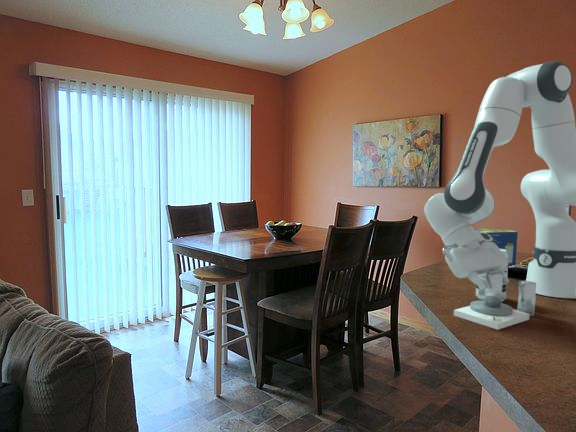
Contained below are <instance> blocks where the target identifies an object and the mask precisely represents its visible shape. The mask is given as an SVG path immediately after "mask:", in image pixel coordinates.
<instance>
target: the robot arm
mask: <svg viewBox="0 0 576 432" xmlns="http://www.w3.org/2000/svg"><path fill="white" fill-rule="evenodd" d="M572 84H573V73H572V70H571V68H570V67H569V66H568V65H567V64H566V63H565V62H563V61H561V60H552V61H546V62H544V63H541V64H536V65H535V64H534V65H531V66H528V67H525V68H523V69H520V70H518V71H515V72H512V73H510V74H506V75H504V76H502V77H498V78H497V79H494V80H493V81H492V82H491V83H490V84H489V86H488V87H487V90H486V92H485V93H484V96H483V98H482V101H481V103H480V105H479V109H478V112H477V115H476V119H475V122H474V125H473V126H474V127H473V130H472V132H471V134H470V137H469V139H468V141H467V145H466V147H465V150H464V152H463V155H462V158H461V160H460V163H459V165H458V168H457V170H456V171H455V174H454V175H453V176H452V177H451V178H450V179H449V181H448V182H447V184H446V186H445V188H444V191H443V193H442V192H438V193H435V194H433V195H432V196H431V197H430V198H429V199H428V200H427V201H426V202H425V205H424V207H423V211H424V216H425V217H426V219H427V221H428V223H429V224H430V226H431V228H432V229H433V230H434V232H435V233H436V234H437V235H439V236H440V238H441V240H442V243H443V244H444V246H443V248H442V254H443V255H444V259H445V262H446V263H447V265H448V267H449V269H450V270H451V272H452V274H453V275H454V276H455V277H456V278H458V279H463V278H467V279H468V280H469V281H471V282H472V283H473V284H474V285H477V286H478V287H479V289H480V290H484V289H486V288H487V287H488V284H487V283H486V281H485V280H484V281H483V280H482V279H481V278H480V277H478V276H477V275H479V274H484V273H487V272H494V273H500V274H503V282H502V285H505V284H507V285H508V283H510V280H509V278H508V276H507V277H506V275H505V271H504V269H503V268H504V267H506V266H507V265H508V260H507V258H506V257H505V255H504V254H503V253H502V251H501V250H500V249H499V248H498V246H497V245H496V244H494V243H493V242H491V241H492V240H493V239H492V237H491V236H490V235H489V234H485V233H482V232H479V231H477V230H474V229H475V228H474V227H473V225H474V224H477V223H479V222H481V221H483V220H485V219H486V218H489V217H490V215H491V214H492V213H493V212H494V210H495V204H496V202H495V199H494V196H493V195H492V194H491V192H490V191H489V190H488V189H487V188H486V186H485V183H484V174H485V171H486V168H487V167H488V163H489V160H490V157H491V155H492V151H493V150H494V148H495V147H501V146H504V145H505V144H508V143H509V142H510V141H511V140H512V139H513V137H514V135H515V134H516V131H517V130H518V127H519V123H520V120H521V118H522V117H521V116H522V112H523V108H530V110H531V128H532V129H531V131H532V138H533V146H534V152H535V153H536V155H537V156H538V157H539V158H541V159H542V160H543V161H544V162H545V163H546V164H547V166H548V169H540V170H535V171H531V172H529V173H527V174H525V176H524V177H523V178H522V180H521V183H520V192H521V195H522V196H523V197H524V198H525V199H526V200H527V202H528V203H529V204H530V207H531V209H532V212H533V214H534V215H533V216H534V219H535V245H534V246H533V250H532V258H533V259H532V260H531V261H530V262H528V268H527V272H526V273H527V274H526V279H525V281H531V282H535V283H536V294H537V295H541V296H545V297H553V298H557V299H558V298H561V299H576V221H575V220H574V219H573V218H572V217H571V216H570V214H569V213H568V210H567V208H566V207H567V206H575V207H576V119H575V114H574V113H575V112H574V107H573V103H572V101H571V97H570V95H569V91H570V90H571V89H572V88H571V87H572Z"/></svg>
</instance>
